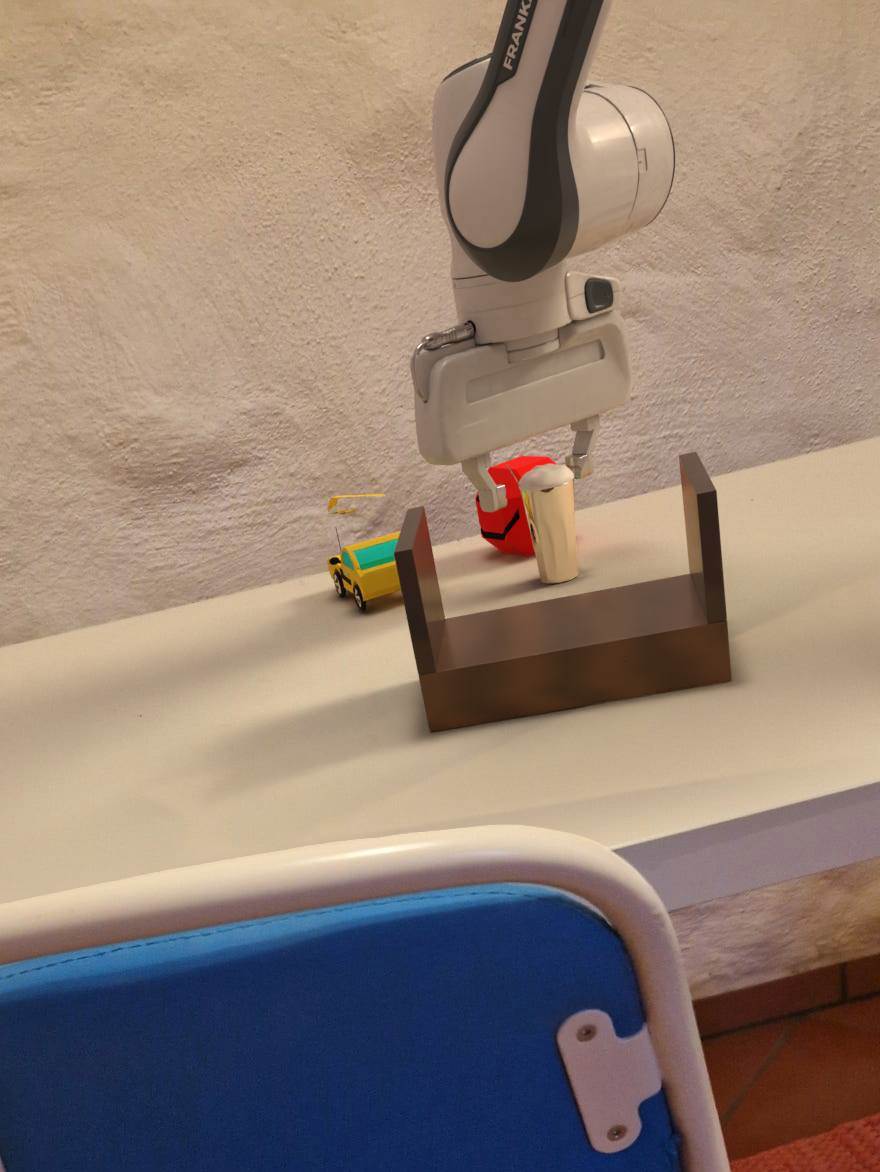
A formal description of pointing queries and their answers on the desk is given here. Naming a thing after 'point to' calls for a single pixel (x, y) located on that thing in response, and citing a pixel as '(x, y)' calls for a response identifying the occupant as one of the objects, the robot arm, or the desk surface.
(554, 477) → the milkshake
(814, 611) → the desk surface
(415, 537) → the shelf
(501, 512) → the ball
